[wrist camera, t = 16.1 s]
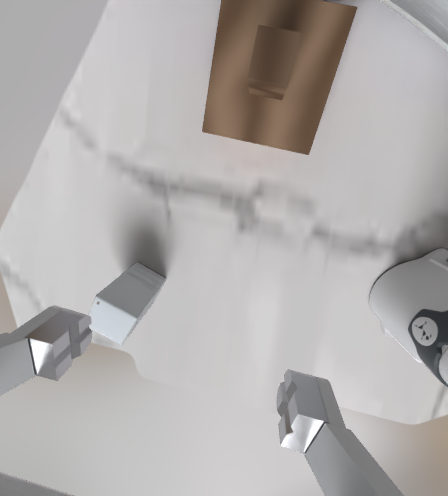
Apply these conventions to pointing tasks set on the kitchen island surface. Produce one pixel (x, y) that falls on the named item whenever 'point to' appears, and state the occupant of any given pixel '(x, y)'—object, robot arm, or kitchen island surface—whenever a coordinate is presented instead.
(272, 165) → the kitchen island surface
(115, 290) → the supplement box
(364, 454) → the robot arm
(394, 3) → the square plate
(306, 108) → the walnut lid
